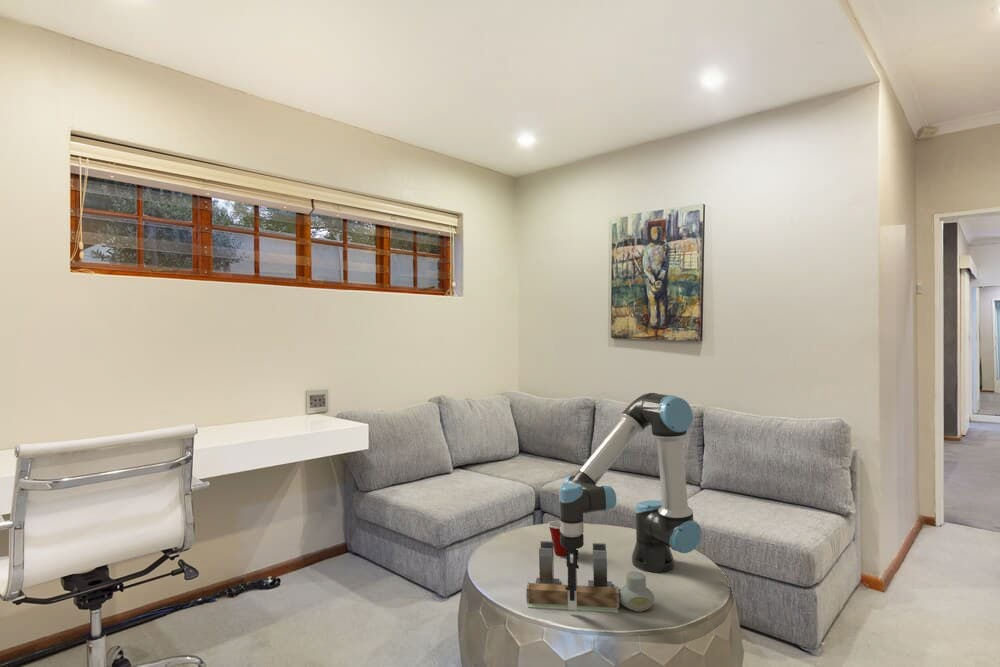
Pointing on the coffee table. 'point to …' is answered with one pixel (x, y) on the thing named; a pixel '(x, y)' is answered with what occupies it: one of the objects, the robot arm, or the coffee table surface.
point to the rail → (584, 595)
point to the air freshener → (636, 593)
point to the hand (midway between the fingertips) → (572, 599)
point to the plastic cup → (556, 538)
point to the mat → (581, 608)
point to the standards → (548, 565)
